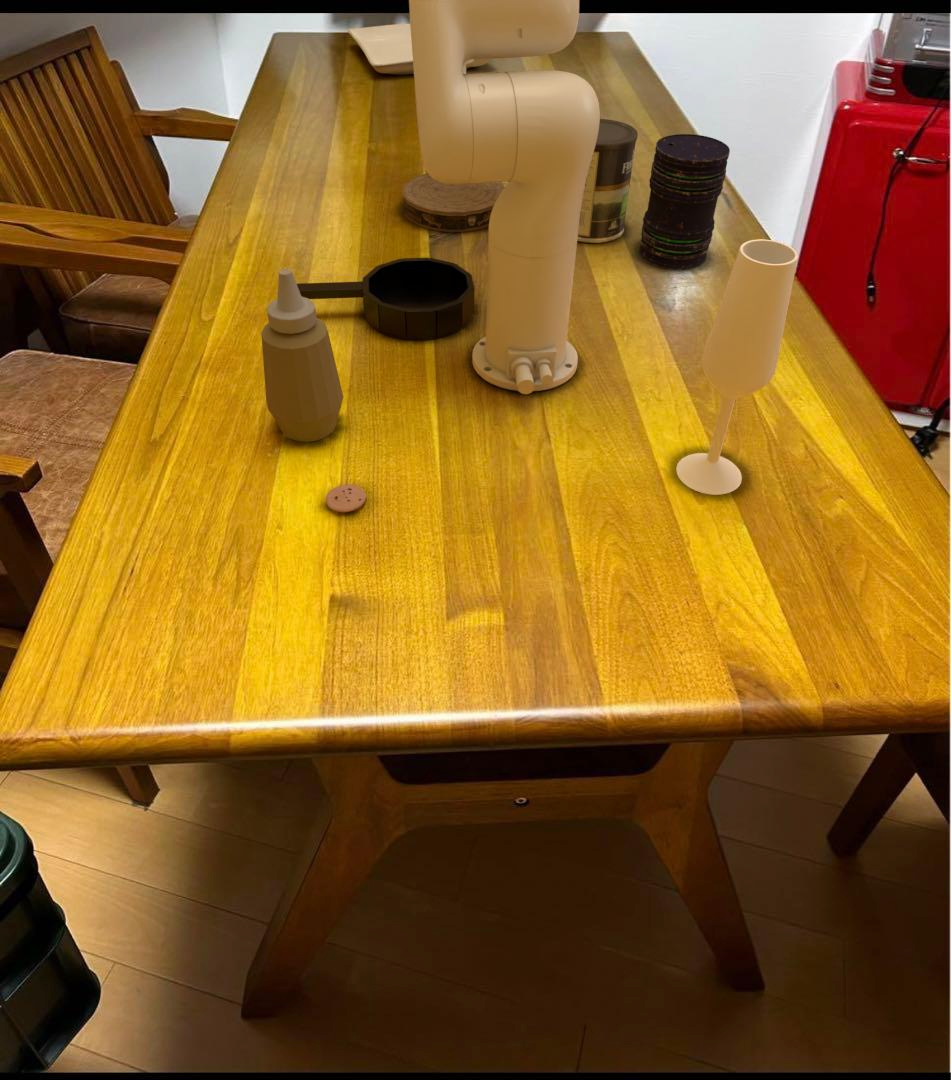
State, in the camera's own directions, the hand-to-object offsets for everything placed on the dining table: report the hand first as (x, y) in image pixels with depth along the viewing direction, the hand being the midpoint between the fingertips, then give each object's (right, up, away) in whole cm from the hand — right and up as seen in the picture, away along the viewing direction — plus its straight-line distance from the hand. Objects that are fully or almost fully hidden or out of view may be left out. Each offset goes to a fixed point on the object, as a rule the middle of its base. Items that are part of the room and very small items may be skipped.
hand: (449, 173), depth 137 cm
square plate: (-8, +48, +51) cm, 71 cm away
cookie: (-8, -56, -54) cm, 78 cm away
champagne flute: (+28, -53, -50) cm, 78 cm away
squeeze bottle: (-14, -47, -45) cm, 67 cm away
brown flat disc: (+1, -8, -5) cm, 10 cm away
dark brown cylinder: (+33, -18, -15) cm, 40 cm away
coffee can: (+22, -13, -9) cm, 27 cm away
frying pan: (-8, -30, -28) cm, 42 cm away
